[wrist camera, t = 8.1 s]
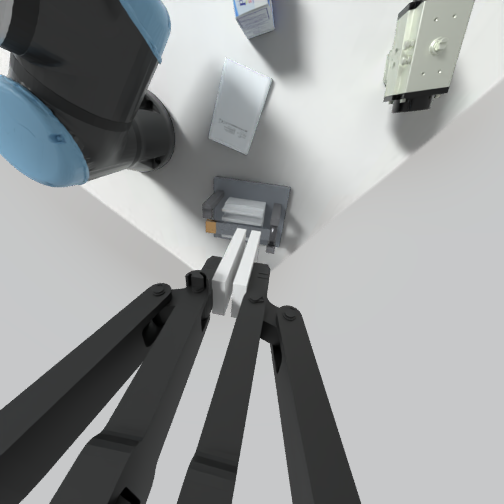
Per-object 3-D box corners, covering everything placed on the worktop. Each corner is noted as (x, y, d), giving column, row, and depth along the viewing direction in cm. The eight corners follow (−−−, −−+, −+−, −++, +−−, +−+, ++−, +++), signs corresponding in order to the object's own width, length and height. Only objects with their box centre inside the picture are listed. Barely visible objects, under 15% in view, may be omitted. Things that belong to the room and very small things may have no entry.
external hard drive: (272, 79, 36) (248, 154, 43) (227, 58, 35) (210, 137, 42) (272, 78, 35) (246, 155, 41) (225, 56, 34) (207, 138, 41)
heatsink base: (215, 233, 53) (201, 256, 44) (215, 176, 46) (198, 190, 37) (279, 244, 52) (276, 269, 43) (290, 186, 44) (290, 204, 36)
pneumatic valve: (426, 7, 29) (497, -51, 19) (403, 110, 35) (449, 107, 25) (381, 16, 30) (426, -35, 20) (367, 114, 36) (396, 113, 26)
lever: (207, 233, 43) (205, 237, 42) (207, 213, 41) (205, 216, 40) (274, 243, 43) (274, 246, 41) (278, 223, 40) (278, 226, 39)
